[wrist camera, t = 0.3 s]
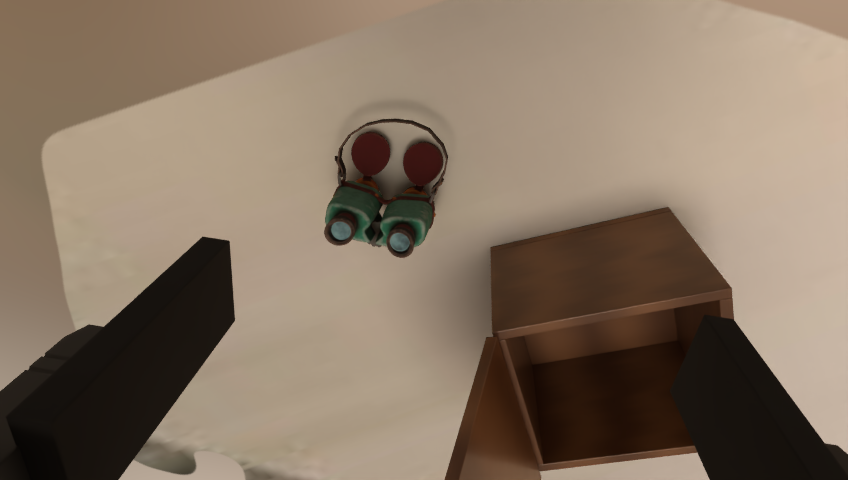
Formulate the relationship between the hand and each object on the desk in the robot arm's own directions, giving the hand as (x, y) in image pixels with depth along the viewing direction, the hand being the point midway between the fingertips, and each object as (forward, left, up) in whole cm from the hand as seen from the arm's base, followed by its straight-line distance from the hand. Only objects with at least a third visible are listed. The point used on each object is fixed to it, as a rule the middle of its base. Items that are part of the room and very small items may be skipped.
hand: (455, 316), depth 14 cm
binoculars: (+9, +1, -31) cm, 32 cm away
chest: (+2, +22, -30) cm, 37 cm away
